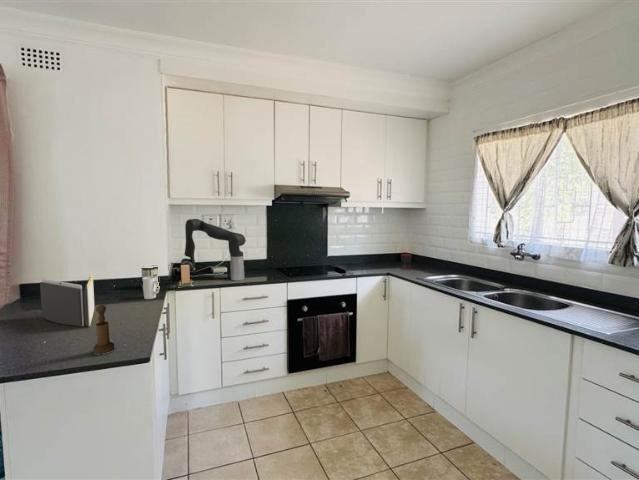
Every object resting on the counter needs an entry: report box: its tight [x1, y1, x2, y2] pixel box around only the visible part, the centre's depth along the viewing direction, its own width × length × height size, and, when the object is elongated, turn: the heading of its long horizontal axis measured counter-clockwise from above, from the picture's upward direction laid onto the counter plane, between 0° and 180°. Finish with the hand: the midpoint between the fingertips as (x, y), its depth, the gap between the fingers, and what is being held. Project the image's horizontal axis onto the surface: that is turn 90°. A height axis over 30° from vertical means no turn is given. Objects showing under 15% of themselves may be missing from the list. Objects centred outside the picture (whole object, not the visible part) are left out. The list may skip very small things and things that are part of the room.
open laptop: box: [39, 273, 95, 327], centre depth 165 cm, size 35×22×20 cm, turn 68°
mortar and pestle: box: [92, 304, 115, 354], centre depth 127 cm, size 7×6×18 cm
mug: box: [142, 277, 161, 300], centre depth 198 cm, size 10×7×12 cm, turn 77°
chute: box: [178, 279, 195, 287], centre depth 229 cm, size 10×12×2 cm
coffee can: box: [140, 267, 158, 290], centre depth 220 cm, size 10×10×14 cm
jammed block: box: [180, 264, 191, 284], centre depth 232 cm, size 5×4×12 cm
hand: (185, 271), depth 234 cm, fingers closed
